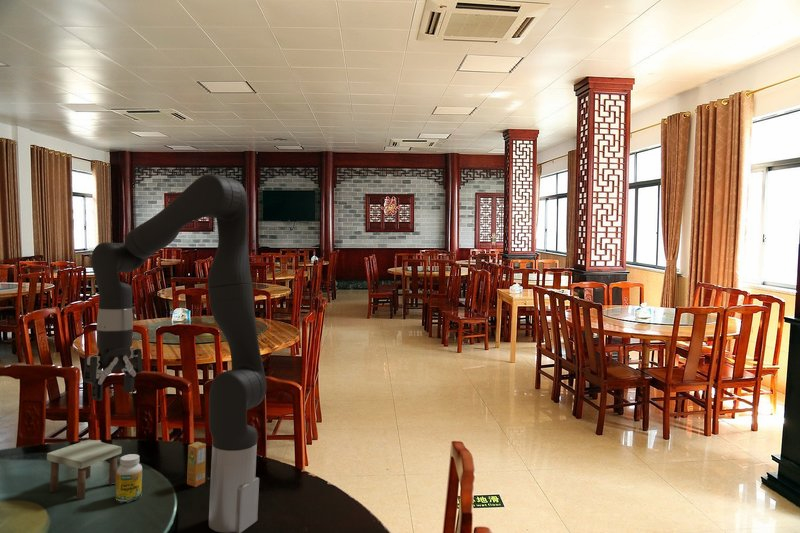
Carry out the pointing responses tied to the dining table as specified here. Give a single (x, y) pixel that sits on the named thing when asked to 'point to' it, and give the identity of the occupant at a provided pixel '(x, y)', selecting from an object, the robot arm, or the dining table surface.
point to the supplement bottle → (128, 478)
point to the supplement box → (196, 464)
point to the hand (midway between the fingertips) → (113, 396)
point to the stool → (83, 462)
